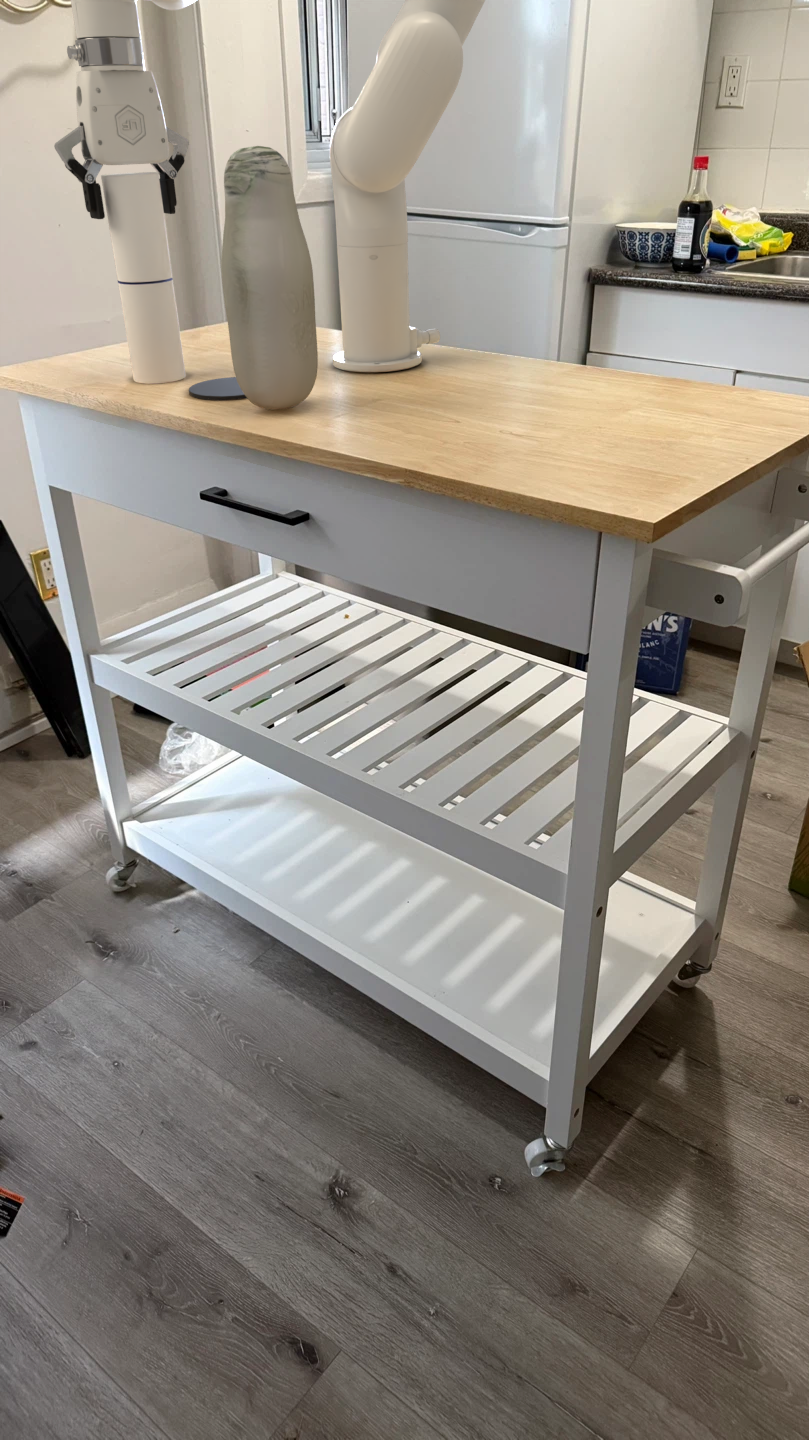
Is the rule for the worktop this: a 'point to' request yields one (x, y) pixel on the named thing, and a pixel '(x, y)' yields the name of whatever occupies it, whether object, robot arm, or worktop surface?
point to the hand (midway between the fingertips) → (133, 215)
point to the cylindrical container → (144, 275)
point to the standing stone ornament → (267, 281)
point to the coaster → (217, 389)
